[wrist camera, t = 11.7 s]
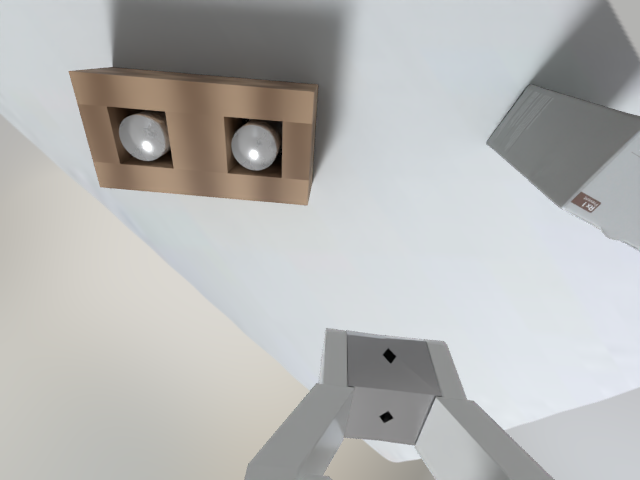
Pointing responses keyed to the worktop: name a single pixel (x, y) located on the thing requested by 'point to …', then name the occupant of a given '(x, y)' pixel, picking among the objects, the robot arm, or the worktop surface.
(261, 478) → the robot arm
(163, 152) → the steel peg
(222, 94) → the walnut block
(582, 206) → the skincare box
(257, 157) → the steel peg
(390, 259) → the worktop surface
